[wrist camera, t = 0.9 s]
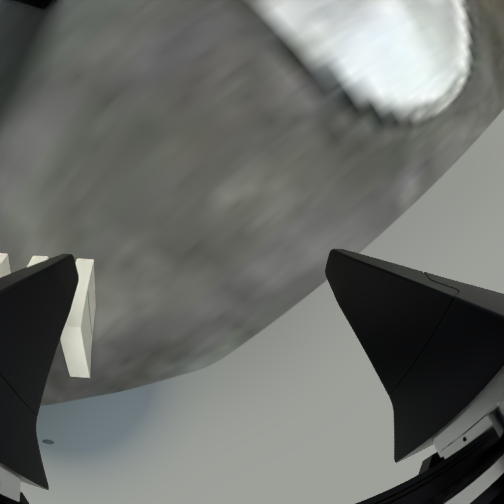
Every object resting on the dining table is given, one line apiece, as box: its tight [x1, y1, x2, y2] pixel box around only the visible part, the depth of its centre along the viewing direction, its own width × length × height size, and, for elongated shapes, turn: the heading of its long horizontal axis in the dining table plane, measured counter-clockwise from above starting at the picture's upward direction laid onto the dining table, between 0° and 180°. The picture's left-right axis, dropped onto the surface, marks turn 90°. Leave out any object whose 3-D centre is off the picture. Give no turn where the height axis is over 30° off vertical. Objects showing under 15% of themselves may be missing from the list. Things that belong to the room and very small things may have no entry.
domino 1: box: [60, 259, 96, 378], centre depth 19 cm, size 2×5×9 cm, turn 166°
